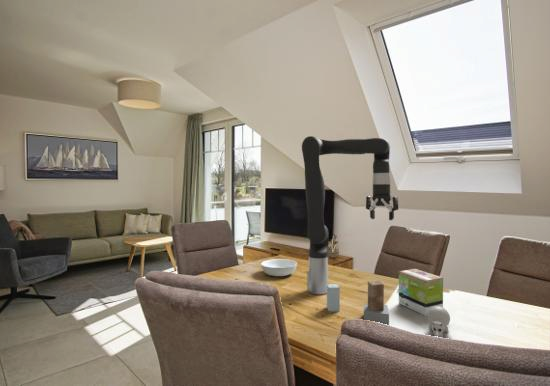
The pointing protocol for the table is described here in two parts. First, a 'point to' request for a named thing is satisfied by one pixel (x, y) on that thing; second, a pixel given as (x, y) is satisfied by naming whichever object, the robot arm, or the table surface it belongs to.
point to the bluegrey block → (333, 297)
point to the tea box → (420, 290)
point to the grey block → (376, 314)
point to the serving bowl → (279, 267)
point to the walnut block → (375, 295)
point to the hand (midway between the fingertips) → (381, 219)
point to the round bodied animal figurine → (438, 320)
